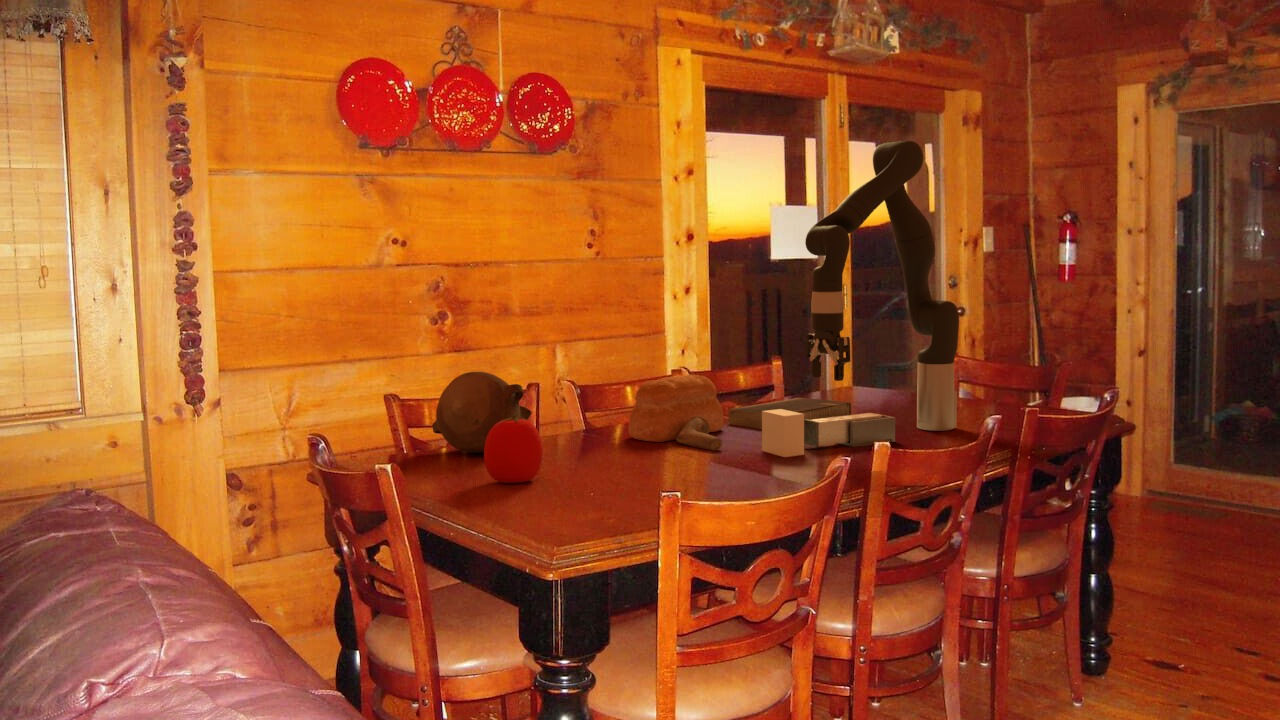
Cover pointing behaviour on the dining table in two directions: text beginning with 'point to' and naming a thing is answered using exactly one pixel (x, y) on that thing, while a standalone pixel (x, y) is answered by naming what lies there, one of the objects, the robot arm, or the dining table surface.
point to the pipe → (698, 435)
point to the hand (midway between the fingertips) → (827, 378)
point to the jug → (476, 409)
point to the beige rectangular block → (832, 429)
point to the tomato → (513, 451)
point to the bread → (673, 407)
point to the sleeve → (871, 431)
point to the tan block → (783, 432)
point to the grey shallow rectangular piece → (806, 406)
